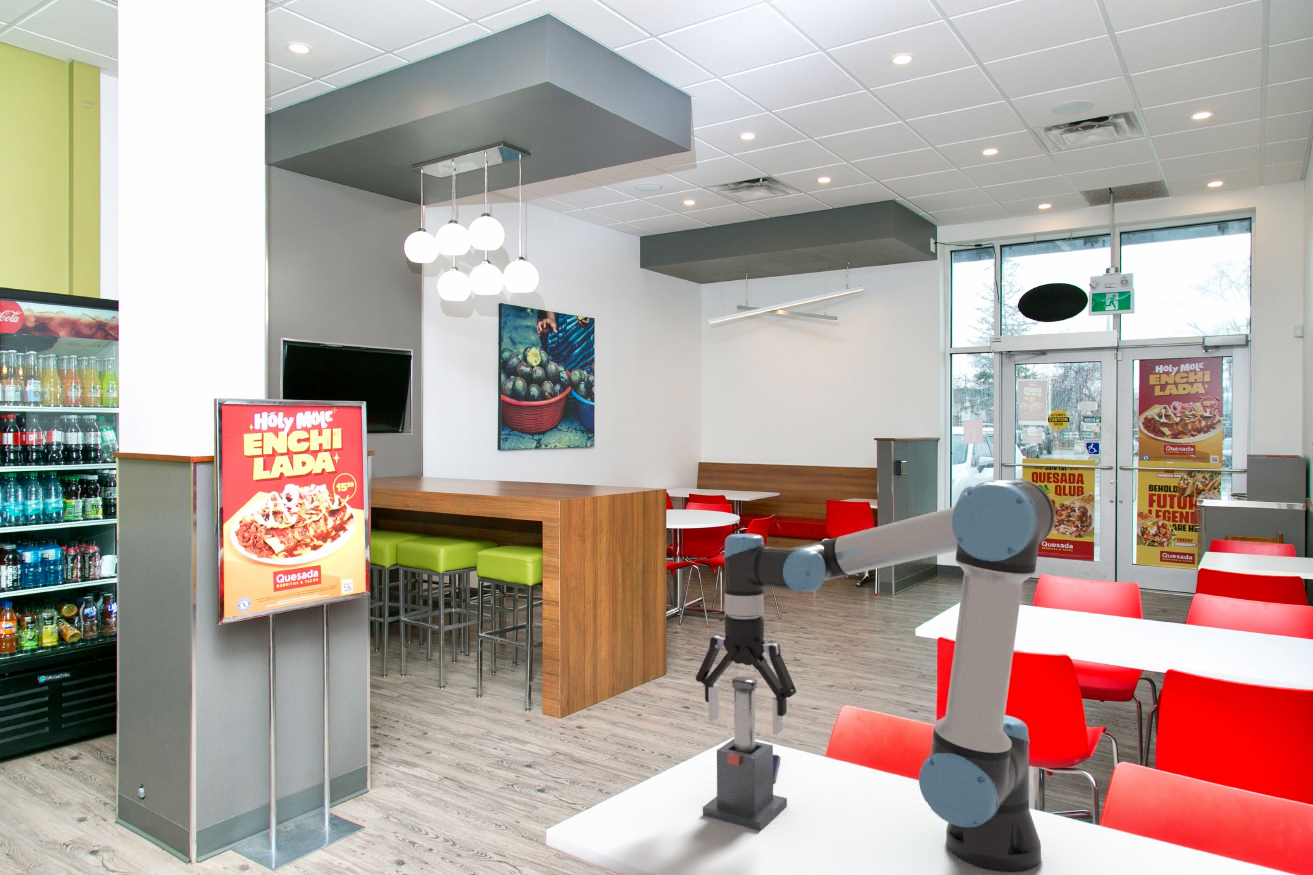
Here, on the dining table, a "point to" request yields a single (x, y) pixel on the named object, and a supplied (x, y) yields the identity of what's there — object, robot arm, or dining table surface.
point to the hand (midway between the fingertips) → (744, 725)
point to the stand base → (745, 787)
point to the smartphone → (775, 766)
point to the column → (744, 713)
